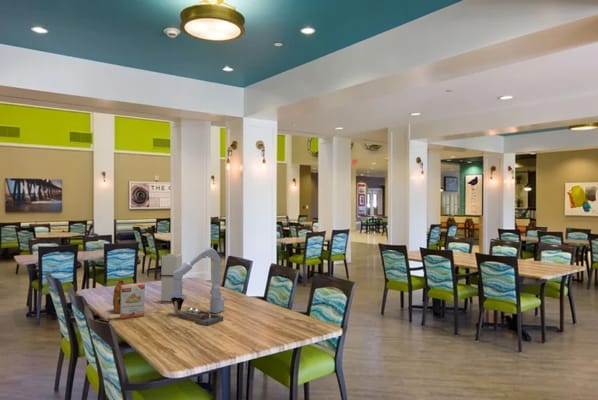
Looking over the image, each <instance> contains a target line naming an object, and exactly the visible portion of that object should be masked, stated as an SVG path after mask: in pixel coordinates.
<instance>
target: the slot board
mask: <svg viewBox="0 0 598 400" xmlns="http://www.w3.org/2000/svg"><path fill="white" fill-rule="evenodd" d="M189 308H190V307H187V308H186V310H182V309H181V310H179V311H178V315H177V319H182V320H187V321H191V322H194V323H195V319H200V320H204V319H207V318H210V312H209V311H208V310H203V309H201V313H200V314H196V313H191V312H187V309H189ZM196 309H197V308H195V310H196Z"/></svg>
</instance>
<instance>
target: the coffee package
mask: <svg viewBox="0 0 598 400" xmlns="http://www.w3.org/2000/svg"><path fill="white" fill-rule="evenodd" d="M117 281H118V282H117V284H115V287H114V289H113V297H112V306H113V310H114V312H115V313H117V314H120V304H121V285H126V284H125V282H124V278H122V277H119V278H117Z"/></svg>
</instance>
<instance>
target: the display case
mask: <svg viewBox="0 0 598 400" xmlns="http://www.w3.org/2000/svg"><path fill="white" fill-rule="evenodd" d="M182 265H183V254H179V253H167V254H166V255H161V275H160V276H161V277H160V278H161V279H160V280H161V281H160V282H161V283H160V284H161V287H160V289H161V291H160V292H161V293H160V294H161V295H160V297H161V298H160V303H161V304H166V303H167V305H168V304H171V305H173V302H172V300H171V298H173V297H169V294H171V293H172V294H173V282H174V276H173V273H174V271H176V270H178V268H180V267H181V266H182Z"/></svg>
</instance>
